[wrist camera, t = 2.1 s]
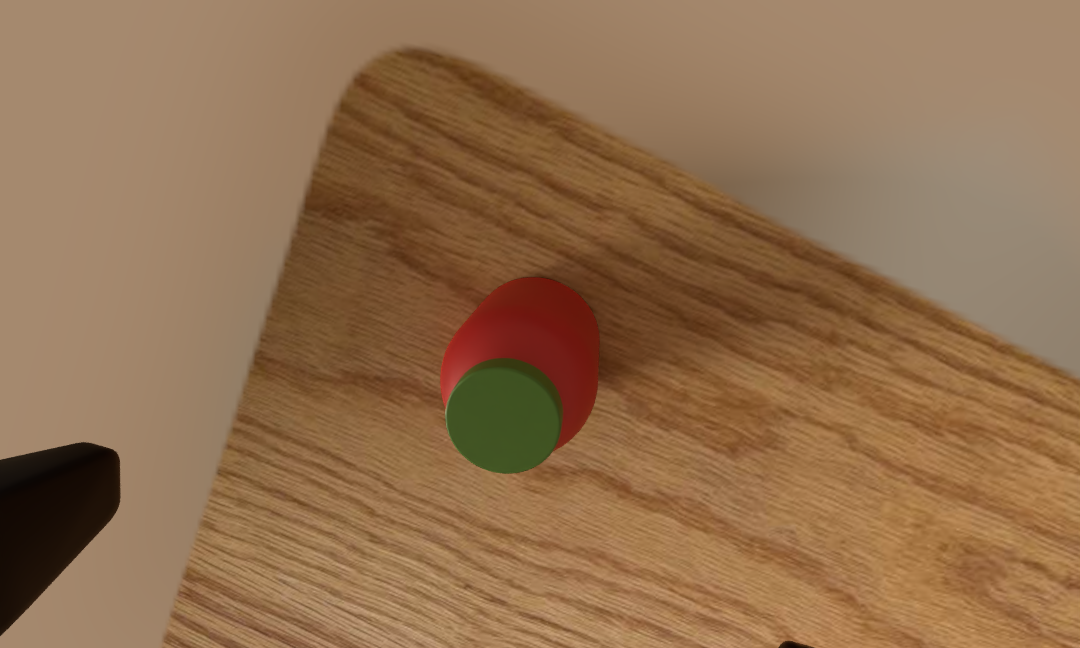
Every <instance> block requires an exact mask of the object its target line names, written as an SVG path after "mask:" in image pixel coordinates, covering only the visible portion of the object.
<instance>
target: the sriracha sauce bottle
mask: <svg viewBox="0 0 1080 648" xmlns="http://www.w3.org/2000/svg"><path fill="white" fill-rule="evenodd" d="M599 343H600V340H599V330H598V325H597V322H596V319H595V317H594V315H593V313H592V311H591V309H590V308H589V306H588V305H587V303H586V302H585V301H584V300H583V299H582V298H581V296H579V295H578V294H577V293H576V292H575V291H574V290H572V289H570V288H569V287H567V286H566V285H564V284H561V283H559V282H557V281H554V280H551V279H546V278H539V277H527V278H520V279H516V280H513V281H510V282H507V283H505V284H503V285H501V286H500V287H498V288H497V289H495V290H494V291H493V292H492V293H491V294H489V295H488V296H487V298H486V299H485V300H484V301H483V302H482V303H481V304H480V306H479V307H478V308H477V309H476V310H475V311H474V312H473V313H472V315H471V316H470V317H469V318H468V319H467V320H466V321H465V323H464V324H463V325H462V326H461V327H460V328H459V330H458V331H457V332H456V333H455V335H454V337H453V338H452V340H451V342H450V343H449V345H448V347H447V350H446V352H445V355H444V359H443V362H442V366H441V375H440V384H441V393H442V399H443V402H444V406H445V408H446V410H445V421H446V427H447V431H448V434H449V436H450V438H451V441H452V442H453V444H454V446H455V447H456V448H457V450H458V451H459V452H460V453H461V454H462V455H463V456H464V457H465V458H466V459H467V460H469V461H470V462H471V463H473V464H475V465H476V466H478V467H480V468H483V469H485V470H488V471H492V472H496V473H504V474H509V473H519V472H523V471H527V470H529V469H532V468H534V467H535V466H537V465H539V464H540V463H542V462H543V461H544V460H546V459H547V458H548V457H549V456H550V454H551V453H552V452H553V451H555V450H556V449H558V448H560V447H562V446H563V445H564V444H566V443H567V442H568V441H570V440H571V439H572V438H573V437H574V436H575V435H576V434H577V433H578V432H579V431H580V429H581V428H582V427H583V425H584V424H585V422H586V421H587V419H588V417H589V415H590V413H591V411H592V409H593V406H594V403H595V399H596V394H597V388H598V370H599Z"/></svg>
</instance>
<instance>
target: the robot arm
mask: <svg viewBox="0 0 1080 648" xmlns="http://www.w3.org/2000/svg"><path fill="white" fill-rule="evenodd" d="M119 503H120V459H119V456H118V454H117V453H116V452H115V451H114V450H113V449H110V448H106V447H103V446H99V445H96V444H92V443H86V442H81V443H75V444H71V445H67V446H62V447H57V448H53V449H48V450H43V451H39V452H34V453H29V454H25V455H21V456H16V457H11V458H7V459H2V460H0V636H1V635H2V634H3V633H4V632H5V631H6V630H7V629H8V628H9V627H10V626H11V625H12V624H13V623H14V622H15V621H16V620H17V619H18V618H19V617H20V616H21V615H22V614H23V613H24V612H25V610H27V609H28V608H29V607H30V606H31V605H32V604H33V602H34V601H35V600H36V599H37V598H38V597H39V596H40V595H41V594H42V593H43V592H44V591H45V589H47V587H48V586H49V585H50V584H51V583H52V582H53V581H54V580H55V579H56V578H57V577H58V576H59V575H60V574H61V573H62V571H63V570H64V569H65V568H66V567H67V566H68V565H69V564H70V563H71V562H72V561H73V560H74V559H75V558H76V557H77V556H78V554H79V553H80V552H81V551H82V550H83V549H84V548H85V547H86V546H87V545H88V544H89V542H91V540H93V538H94V537H95V536H96V535H97V534H98V533H99V532H100V531H101V530H102V529H103V528H104V527H105V526H106V524H107V523H108V522H109V521H110V520H111V519H112V518H113V516H114V514H115V513H116V511H117V509H118V507H119ZM779 648H814V647H810V646H807V645H803V644H800V643H796V642H793V641H785V642H783V643H782V644H780V646H779Z"/></svg>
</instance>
